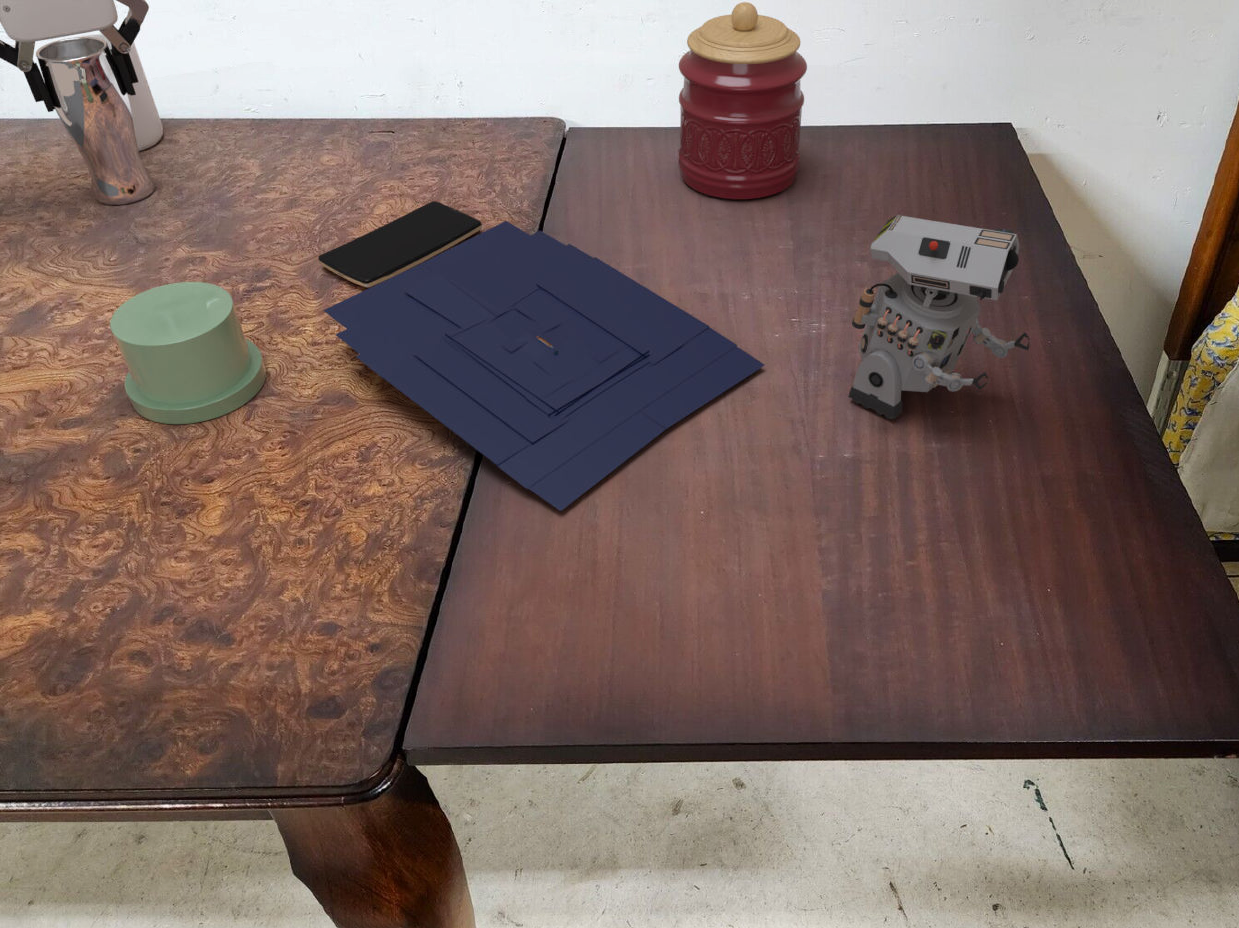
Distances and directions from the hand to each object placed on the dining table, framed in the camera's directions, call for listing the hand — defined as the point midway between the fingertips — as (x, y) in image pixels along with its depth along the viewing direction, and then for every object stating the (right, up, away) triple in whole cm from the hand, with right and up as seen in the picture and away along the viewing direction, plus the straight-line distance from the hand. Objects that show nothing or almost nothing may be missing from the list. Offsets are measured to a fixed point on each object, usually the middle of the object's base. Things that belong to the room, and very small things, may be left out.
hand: (89, 97), depth 107 cm
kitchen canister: (+66, -5, +9) cm, 67 cm away
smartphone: (+32, -16, -3) cm, 36 cm away
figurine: (+79, -33, -21) cm, 88 cm away
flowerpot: (+19, -31, -19) cm, 41 cm away
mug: (-4, 0, +15) cm, 16 cm away
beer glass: (0, -8, +7) cm, 10 cm away
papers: (+47, -29, -17) cm, 58 cm away
